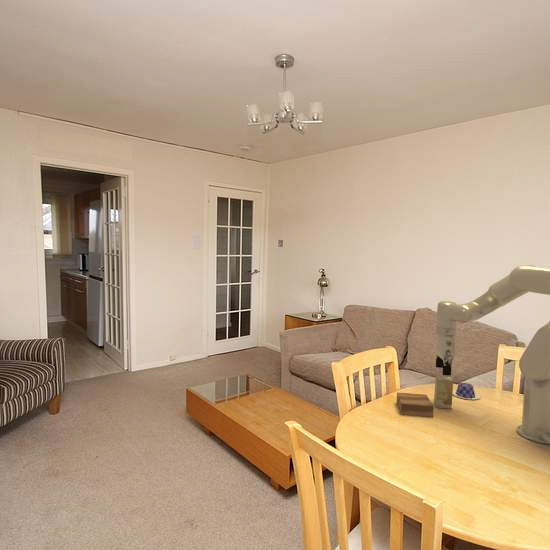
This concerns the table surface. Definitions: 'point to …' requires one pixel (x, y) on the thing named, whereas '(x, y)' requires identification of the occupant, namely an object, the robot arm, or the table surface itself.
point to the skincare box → (443, 392)
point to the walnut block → (414, 405)
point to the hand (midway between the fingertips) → (442, 371)
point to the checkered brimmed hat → (465, 391)
